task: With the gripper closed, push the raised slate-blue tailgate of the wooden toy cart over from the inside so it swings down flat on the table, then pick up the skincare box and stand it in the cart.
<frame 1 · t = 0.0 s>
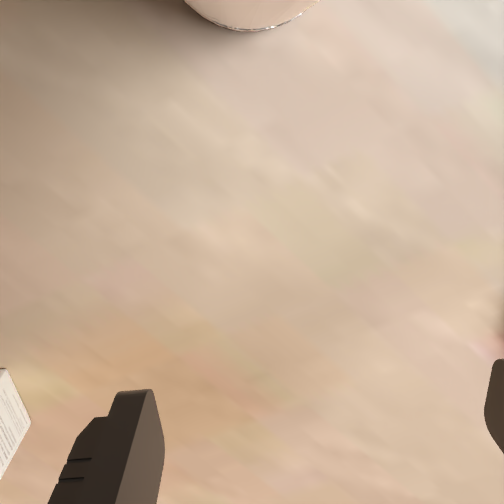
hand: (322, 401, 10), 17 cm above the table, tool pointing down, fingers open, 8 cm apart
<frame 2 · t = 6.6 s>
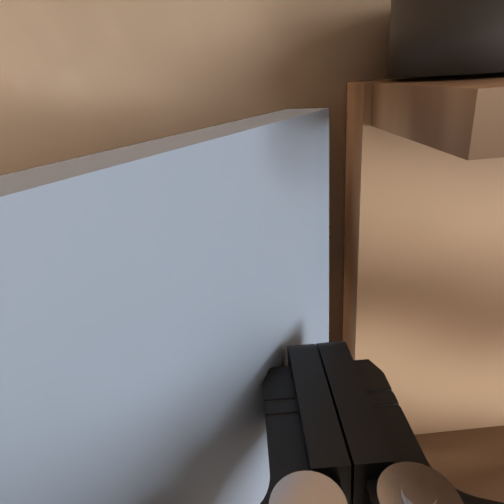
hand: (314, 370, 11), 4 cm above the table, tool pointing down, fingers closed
tailgate: (182, 445, 8), point 6 cm above the table, hinge at 37.1°, touching gripper
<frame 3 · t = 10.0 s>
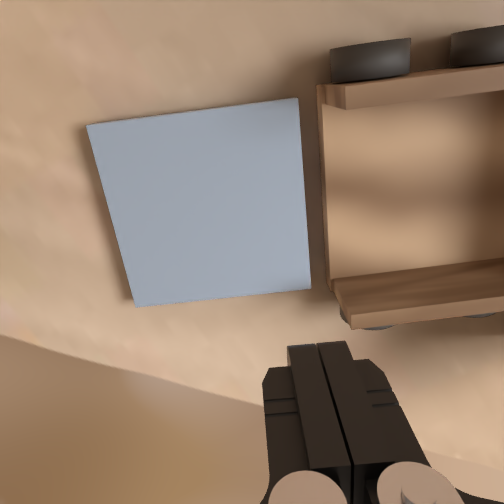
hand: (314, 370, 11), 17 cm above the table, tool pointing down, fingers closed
wooden toy cart: (414, 181, 26), on the table
tailgate: (209, 211, 25), point 1 cm above the table, hinge at 92.0°
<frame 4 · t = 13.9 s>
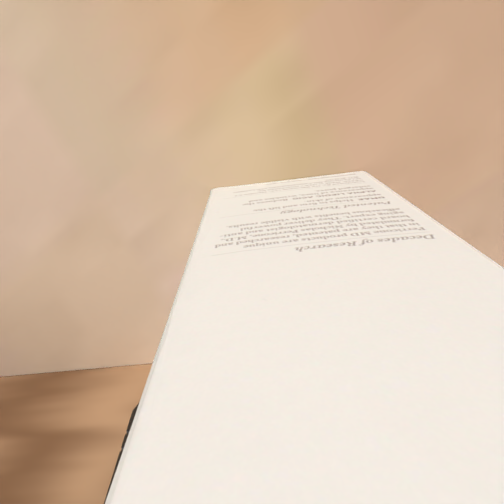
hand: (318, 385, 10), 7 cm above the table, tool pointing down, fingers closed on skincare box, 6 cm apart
wooden toy cart: (107, 493, 21), on the table
skincare box: (288, 267, 16), on the table, touching gripper
when the fingers open (9 cm above the table, at t = 19.5 s): skincare box drops 1 cm, resting on wooden toy cart.
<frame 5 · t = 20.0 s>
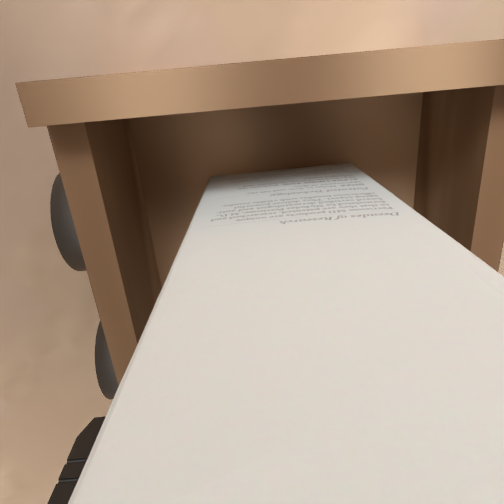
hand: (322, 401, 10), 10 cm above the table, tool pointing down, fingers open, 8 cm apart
wooden toy cart: (280, 251, 19), on the table
skincare box: (280, 252, 18), point 1 cm above the table, touching wooden toy cart
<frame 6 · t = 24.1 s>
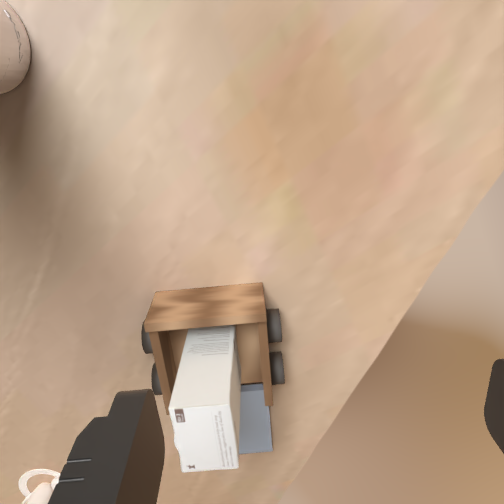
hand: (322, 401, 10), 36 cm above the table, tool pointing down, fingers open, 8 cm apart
wooden toy cart: (216, 341, 52), on the table
skincare box: (214, 344, 51), point 1 cm above the table, touching wooden toy cart
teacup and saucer: (64, 491, 64), on the table
tailgate: (227, 422, 57), point 1 cm above the table, hinge at 92.0°
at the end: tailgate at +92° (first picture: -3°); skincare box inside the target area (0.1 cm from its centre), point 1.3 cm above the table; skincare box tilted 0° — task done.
